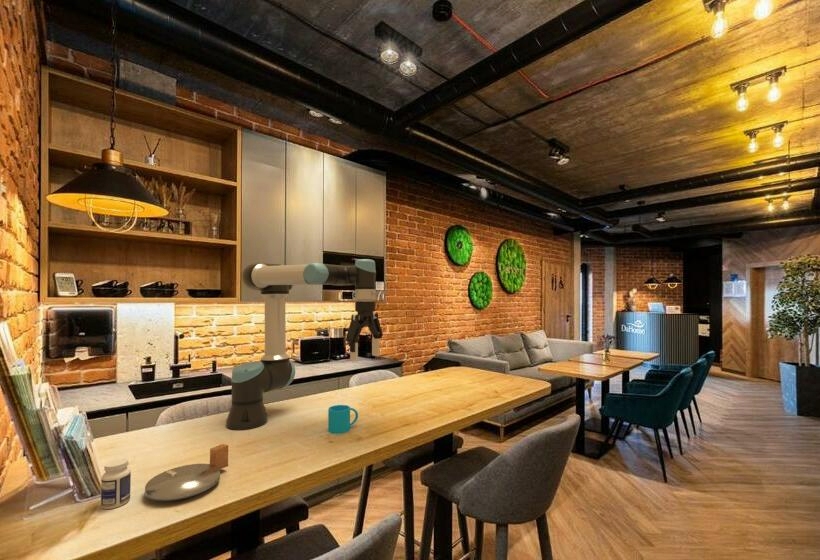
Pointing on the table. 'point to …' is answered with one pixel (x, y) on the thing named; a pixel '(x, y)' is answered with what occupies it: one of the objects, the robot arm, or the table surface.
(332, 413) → the mug
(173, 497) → the disc
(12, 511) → the table surface
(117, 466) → the pill bottle
